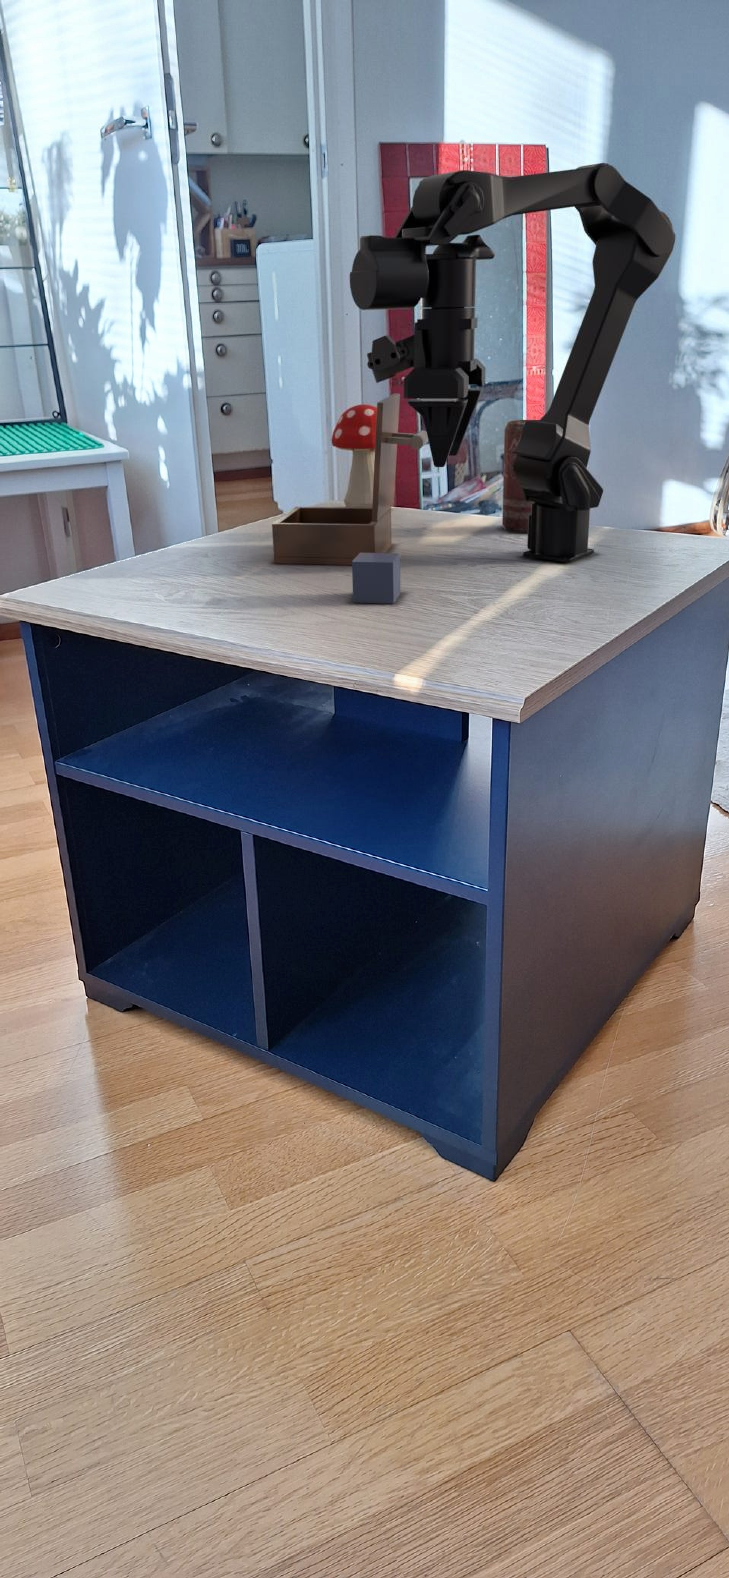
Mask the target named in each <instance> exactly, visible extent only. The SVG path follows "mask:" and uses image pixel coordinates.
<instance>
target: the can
mask: <svg viewBox="0 0 729 1578" xmlns="http://www.w3.org/2000/svg"><path fill="white" fill-rule="evenodd" d="M526 420H527V419H516V420H510V421H507V423H506V426H505V428H504V439H503V442H504V443H503V475H502V477H503V479H502V480H503V481H502V482H503V483H502V523H501V524H502V526H503V527H502V528H503V529H504V530H505V531H506V532H509V533H515V534H516V533H517V534H528V517H529V515H531V514H532V504H533V503H535V502H527V501H525V500H524V496H523V493H522V489H521V486H520V484H519V483H518V481H517V480H516V476H515V472H513V463H514V459H515V456H516V454H512V451H513V450H514V449H515V447H516V446H517V444H518V442H519V439H520V436H521V432H522V428H523V425H524V424H525V422H526ZM531 420H532V421H539V420H540V419H531Z"/></svg>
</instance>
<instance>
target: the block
mask: <svg viewBox="0 0 729 1578" xmlns="http://www.w3.org/2000/svg"><path fill="white" fill-rule="evenodd" d="M351 573H352V574H351V577H352V578H351V579H352V602H353V604H385V605H386V604H389V605H394V604H395V603H396V601H397V599H398V598H399V597H400V595H401V590H402V589H401V553H400V552H386V553H360V554H359V555H358V556H357V557H356V558H355V559H354V560H353V561H352V565H351Z"/></svg>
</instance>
